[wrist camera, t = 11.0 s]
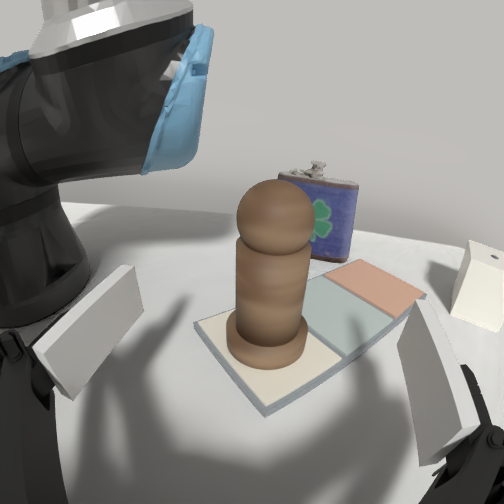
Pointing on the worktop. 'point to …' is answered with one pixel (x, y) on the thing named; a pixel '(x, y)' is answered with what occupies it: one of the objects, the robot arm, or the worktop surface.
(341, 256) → the flask
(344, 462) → the worktop surface
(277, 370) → the board
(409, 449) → the worktop surface
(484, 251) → the white die
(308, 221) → the pawn
